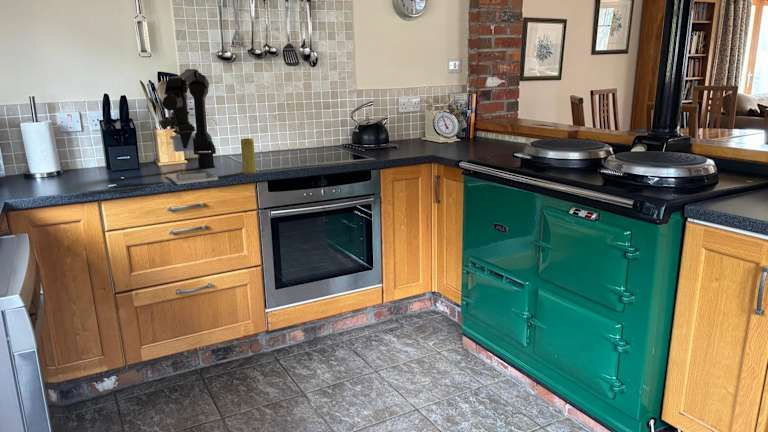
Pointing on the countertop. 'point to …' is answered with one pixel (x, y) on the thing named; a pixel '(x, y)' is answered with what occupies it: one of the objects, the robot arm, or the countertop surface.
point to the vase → (248, 156)
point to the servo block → (178, 143)
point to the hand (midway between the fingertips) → (184, 148)
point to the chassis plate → (191, 177)
